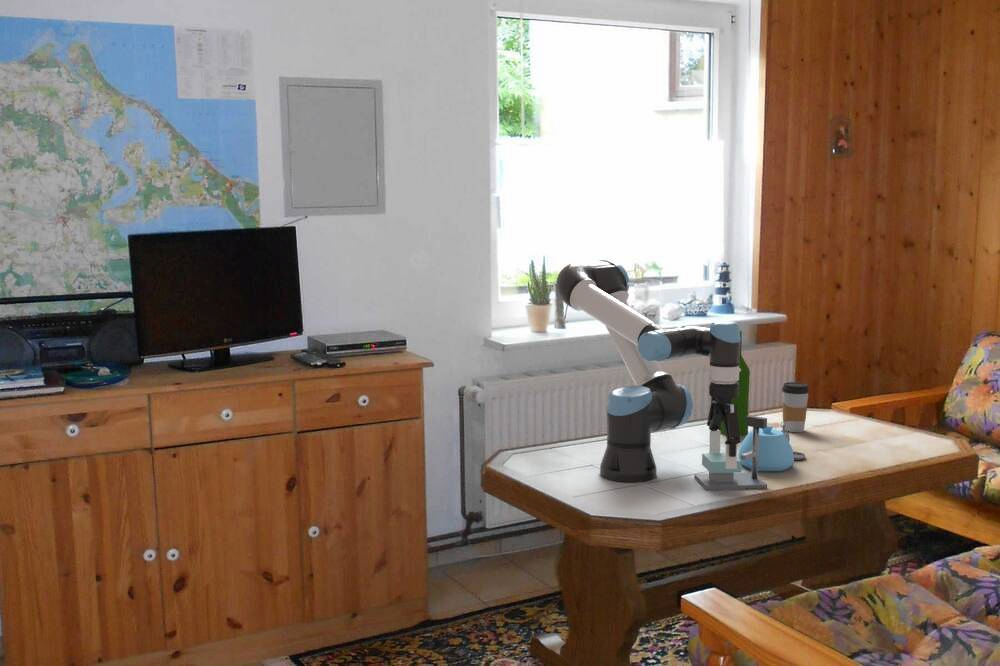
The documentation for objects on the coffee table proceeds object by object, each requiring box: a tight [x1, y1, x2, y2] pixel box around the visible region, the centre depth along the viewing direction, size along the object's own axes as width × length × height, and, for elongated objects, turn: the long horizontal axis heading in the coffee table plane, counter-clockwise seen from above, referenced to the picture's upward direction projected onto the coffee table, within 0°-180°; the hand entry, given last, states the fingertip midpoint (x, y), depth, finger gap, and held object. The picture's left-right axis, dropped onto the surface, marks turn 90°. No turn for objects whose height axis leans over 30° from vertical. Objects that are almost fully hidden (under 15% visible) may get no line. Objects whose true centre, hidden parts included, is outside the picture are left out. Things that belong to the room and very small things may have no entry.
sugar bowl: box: [737, 424, 795, 472], centre depth 273 cm, size 15×15×12 cm
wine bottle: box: [718, 330, 751, 436], centre depth 308 cm, size 9×9×32 cm
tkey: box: [740, 414, 768, 479], centre depth 255 cm, size 7×5×16 cm
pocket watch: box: [780, 421, 807, 461], centre depth 281 cm, size 8×8×10 cm
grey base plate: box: [694, 471, 768, 491], centre depth 257 cm, size 16×11×4 cm
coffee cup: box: [781, 381, 810, 433], centre depth 312 cm, size 8×8×15 cm
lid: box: [701, 452, 743, 473], centre depth 256 cm, size 8×8×3 cm
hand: (722, 461), depth 256 cm, fingers open, 13 cm apart
